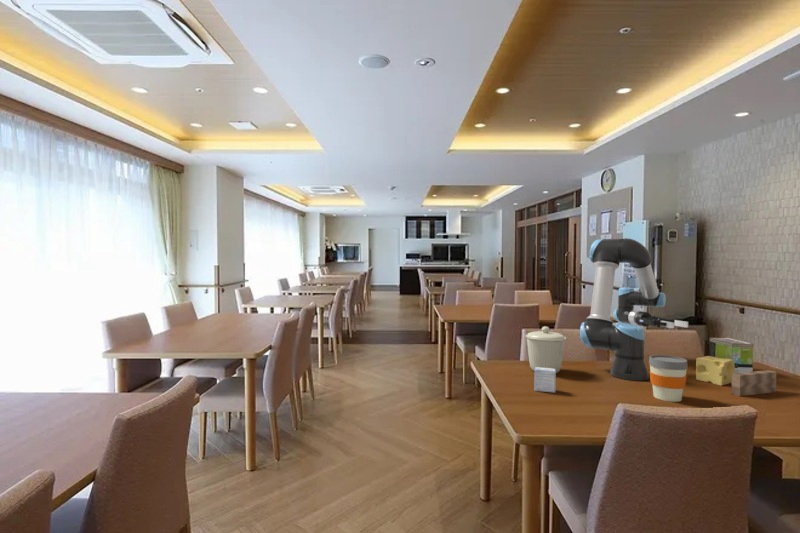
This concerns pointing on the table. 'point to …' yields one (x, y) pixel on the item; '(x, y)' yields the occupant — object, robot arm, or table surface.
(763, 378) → the walnut board
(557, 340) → the canister
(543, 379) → the medicine box
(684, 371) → the reusable coffee cup
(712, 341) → the tea box
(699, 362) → the cheese
